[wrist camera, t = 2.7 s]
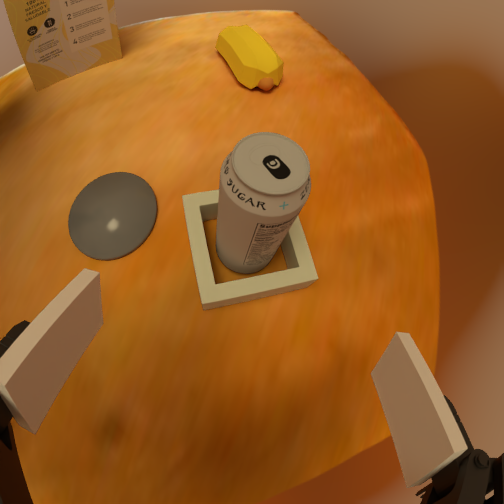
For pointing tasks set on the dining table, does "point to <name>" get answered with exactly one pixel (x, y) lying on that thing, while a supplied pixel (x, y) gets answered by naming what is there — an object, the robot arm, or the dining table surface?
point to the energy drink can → (259, 199)
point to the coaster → (112, 216)
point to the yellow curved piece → (250, 57)
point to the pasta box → (63, 36)
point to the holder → (249, 288)
